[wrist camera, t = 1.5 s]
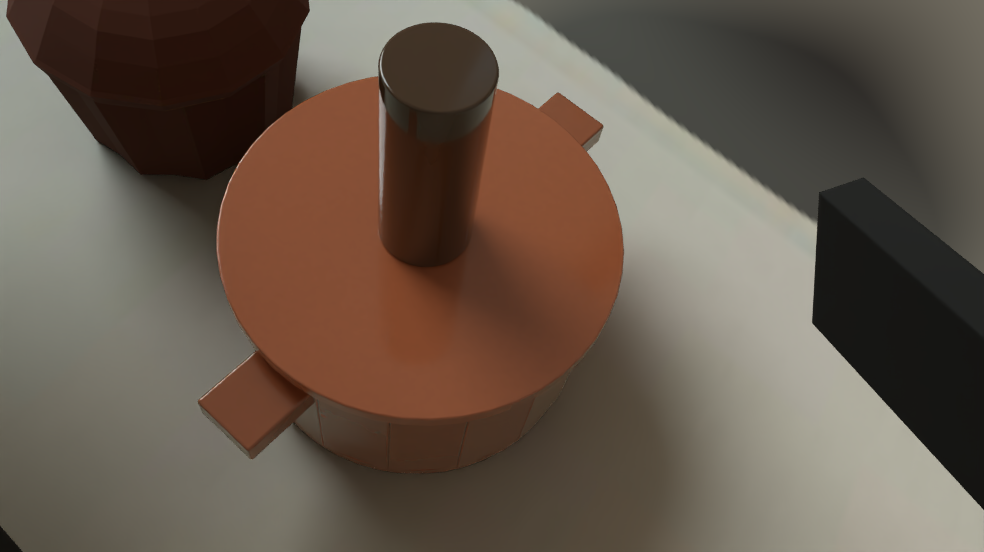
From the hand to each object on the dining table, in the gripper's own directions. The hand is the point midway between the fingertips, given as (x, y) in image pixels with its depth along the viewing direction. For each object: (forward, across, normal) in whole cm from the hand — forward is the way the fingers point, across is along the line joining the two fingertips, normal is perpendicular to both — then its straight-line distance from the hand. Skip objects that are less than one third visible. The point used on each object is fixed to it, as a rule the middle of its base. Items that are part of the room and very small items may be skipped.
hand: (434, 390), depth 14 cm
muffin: (+30, -6, -8) cm, 32 cm away
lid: (+16, +2, -8) cm, 18 cm away
